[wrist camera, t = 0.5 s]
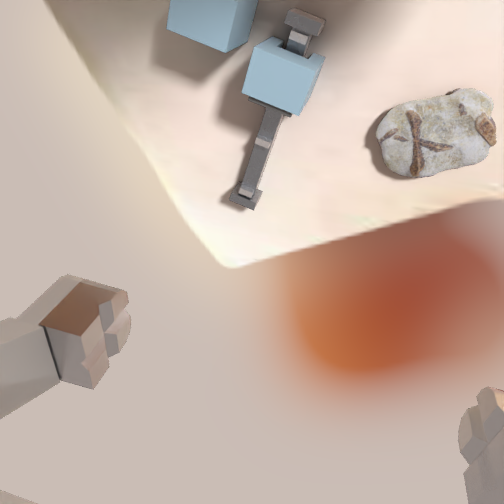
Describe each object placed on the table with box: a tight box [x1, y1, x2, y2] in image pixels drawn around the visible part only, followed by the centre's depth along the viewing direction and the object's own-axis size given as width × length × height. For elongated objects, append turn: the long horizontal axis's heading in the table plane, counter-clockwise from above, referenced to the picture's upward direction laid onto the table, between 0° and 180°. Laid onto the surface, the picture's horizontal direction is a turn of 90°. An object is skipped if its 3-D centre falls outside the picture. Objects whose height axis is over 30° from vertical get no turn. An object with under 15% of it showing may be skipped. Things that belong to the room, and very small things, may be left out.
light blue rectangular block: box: [241, 36, 325, 117], centre depth 43 cm, size 5×6×8 cm
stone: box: [376, 88, 496, 178], centre depth 45 cm, size 12×9×3 cm
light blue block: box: [166, 0, 258, 53], centre depth 41 cm, size 5×6×8 cm
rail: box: [229, 8, 326, 210], centre depth 48 cm, size 23×4×4 cm, turn 162°
